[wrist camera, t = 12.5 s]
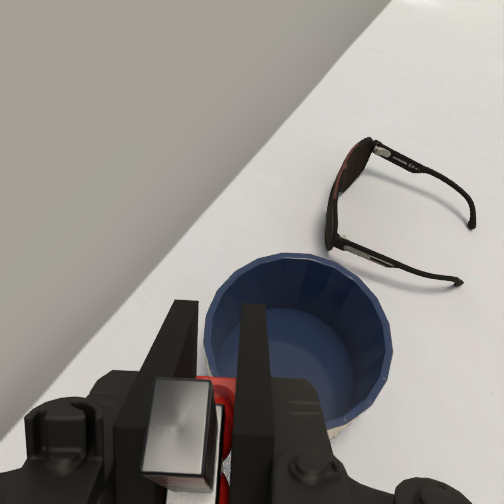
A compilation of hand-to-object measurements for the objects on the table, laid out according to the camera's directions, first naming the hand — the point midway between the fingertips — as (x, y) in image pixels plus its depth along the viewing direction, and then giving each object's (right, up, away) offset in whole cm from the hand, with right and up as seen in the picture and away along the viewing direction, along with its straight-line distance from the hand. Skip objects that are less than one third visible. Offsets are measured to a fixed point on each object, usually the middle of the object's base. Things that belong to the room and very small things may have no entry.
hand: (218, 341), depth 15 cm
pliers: (0, -5, +1) cm, 5 cm away
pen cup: (+3, -5, +15) cm, 17 cm away
